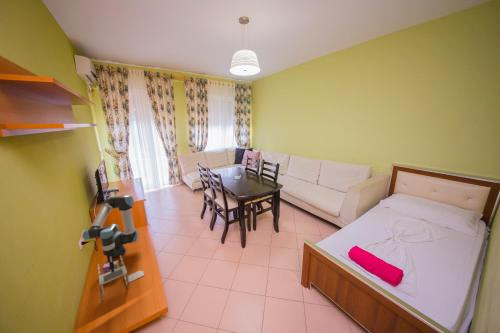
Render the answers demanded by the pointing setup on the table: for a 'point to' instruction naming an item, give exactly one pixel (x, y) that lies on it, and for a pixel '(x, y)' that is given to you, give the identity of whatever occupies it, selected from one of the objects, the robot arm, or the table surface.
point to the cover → (112, 275)
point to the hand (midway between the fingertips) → (113, 274)
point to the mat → (135, 276)
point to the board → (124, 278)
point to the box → (107, 266)
